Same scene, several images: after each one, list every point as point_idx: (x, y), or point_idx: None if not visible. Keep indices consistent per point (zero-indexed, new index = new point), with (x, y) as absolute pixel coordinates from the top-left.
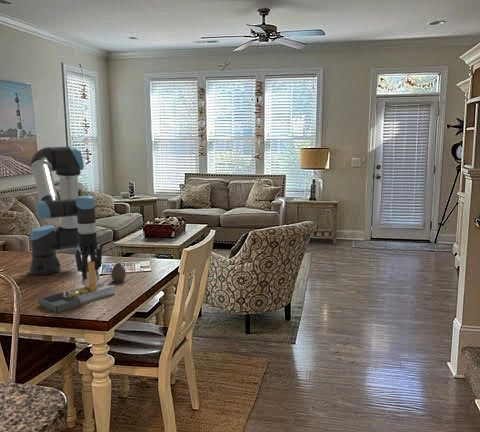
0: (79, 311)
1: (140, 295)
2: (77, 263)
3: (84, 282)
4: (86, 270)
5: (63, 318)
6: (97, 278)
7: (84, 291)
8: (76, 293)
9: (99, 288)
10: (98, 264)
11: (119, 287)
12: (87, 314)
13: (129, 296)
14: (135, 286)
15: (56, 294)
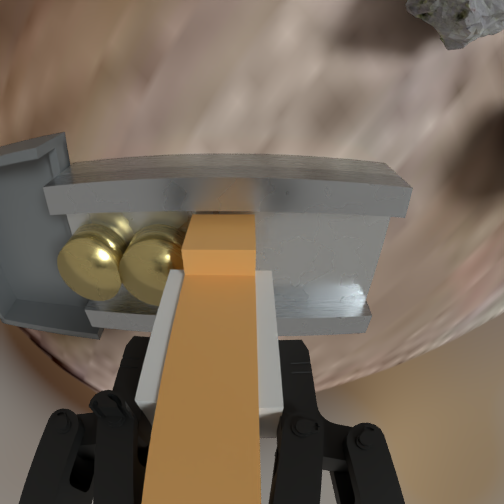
0: (91, 346)
1: (372, 373)
2: (36, 501)
3: (164, 294)
4: (148, 449)
5: (38, 346)
6: (474, 39)
7: (146, 299)
8: (88, 296)
9: (317, 238)
10: (344, 470)
11: (445, 234)
12: (110, 377)
13: (344, 361)
14: (473, 282)
15: (1, 165)
